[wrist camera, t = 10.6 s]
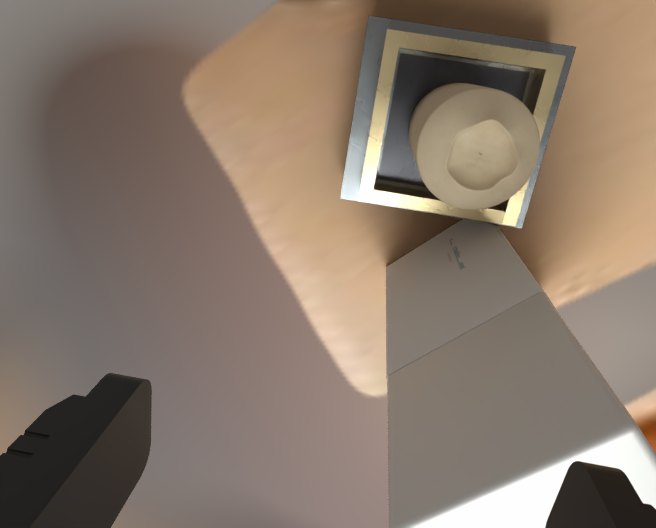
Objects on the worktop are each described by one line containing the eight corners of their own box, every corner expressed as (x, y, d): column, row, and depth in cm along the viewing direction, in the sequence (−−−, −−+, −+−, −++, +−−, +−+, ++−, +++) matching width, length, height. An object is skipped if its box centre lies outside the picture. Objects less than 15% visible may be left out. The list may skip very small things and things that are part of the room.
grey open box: (549, 49, 34) (592, 45, 27) (504, 208, 38) (531, 240, 31) (370, 22, 34) (367, 11, 27) (345, 182, 38) (336, 208, 31)
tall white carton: (482, 204, 38) (638, 423, 15) (540, 294, 40) (758, 610, 17) (384, 266, 40) (384, 535, 17) (443, 348, 42) (514, 685, 19)
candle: (427, 69, 30) (446, 71, 21) (515, 98, 30) (573, 113, 21) (395, 158, 32) (400, 196, 23) (477, 185, 32) (516, 234, 23)
